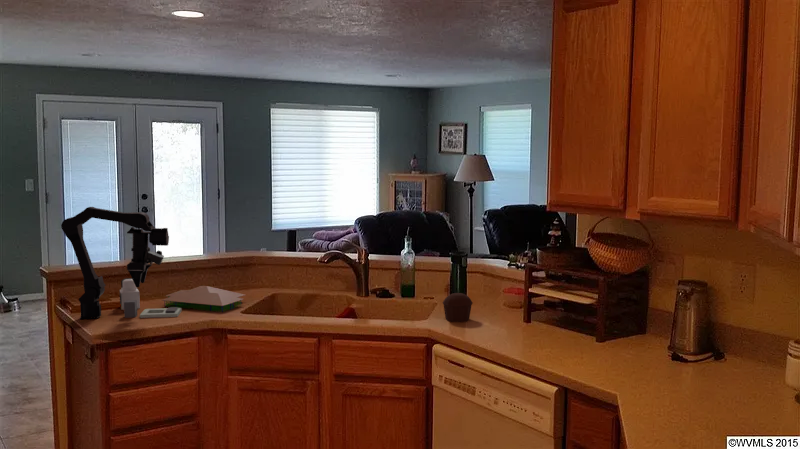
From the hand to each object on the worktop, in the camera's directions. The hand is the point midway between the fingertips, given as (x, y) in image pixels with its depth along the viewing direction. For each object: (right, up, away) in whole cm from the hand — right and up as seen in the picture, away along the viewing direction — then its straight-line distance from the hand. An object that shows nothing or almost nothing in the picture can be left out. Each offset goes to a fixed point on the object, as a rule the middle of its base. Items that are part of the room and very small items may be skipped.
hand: (140, 285), depth 283 cm
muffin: (+123, -13, -4) cm, 124 cm away
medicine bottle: (-10, -11, +17) cm, 22 cm away
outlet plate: (+7, -12, +4) cm, 14 cm away
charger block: (-4, -12, +1) cm, 13 cm away
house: (+19, -11, +24) cm, 32 cm away
